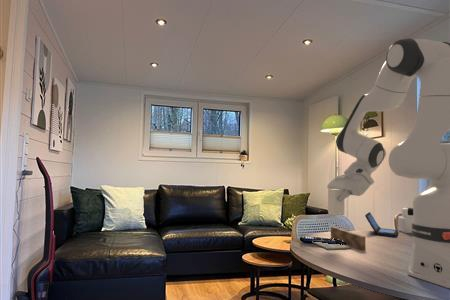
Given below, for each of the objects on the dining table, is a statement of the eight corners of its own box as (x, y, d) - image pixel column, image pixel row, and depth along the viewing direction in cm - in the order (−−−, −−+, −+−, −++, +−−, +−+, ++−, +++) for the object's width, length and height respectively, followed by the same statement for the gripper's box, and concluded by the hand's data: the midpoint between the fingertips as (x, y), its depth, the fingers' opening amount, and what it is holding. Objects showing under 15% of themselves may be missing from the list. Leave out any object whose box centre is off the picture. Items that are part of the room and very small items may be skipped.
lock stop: (344, 214, 125) (344, 189, 125) (334, 215, 124) (334, 189, 124) (337, 213, 129) (337, 188, 130) (328, 213, 128) (328, 188, 129)
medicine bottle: (412, 230, 161) (412, 207, 161) (420, 233, 153) (419, 209, 154) (398, 230, 161) (397, 206, 162) (404, 233, 154) (404, 208, 155)
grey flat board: (350, 248, 120) (350, 246, 120) (327, 250, 118) (327, 247, 118) (332, 241, 132) (332, 238, 132) (311, 242, 130) (311, 239, 130)
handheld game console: (396, 238, 143) (396, 217, 143) (364, 234, 150) (364, 214, 150) (398, 232, 156) (398, 214, 157) (369, 229, 163) (369, 211, 164)
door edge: (365, 249, 120) (365, 236, 120) (360, 249, 119) (360, 236, 119) (334, 238, 139) (334, 226, 139) (330, 238, 139) (330, 226, 139)
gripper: (336, 169, 139) (316, 191, 136) (367, 170, 119) (345, 196, 116) (345, 180, 140) (325, 202, 137) (377, 182, 120) (355, 208, 117)
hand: (334, 199), depth 127 cm, fingers closed on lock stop, 4 cm apart
